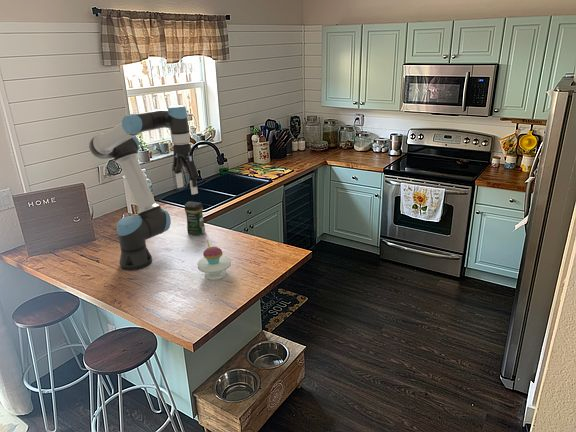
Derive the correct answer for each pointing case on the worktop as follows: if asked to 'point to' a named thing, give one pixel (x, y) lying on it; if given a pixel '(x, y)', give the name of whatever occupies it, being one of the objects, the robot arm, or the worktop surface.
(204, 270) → the cake stand
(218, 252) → the cupcake
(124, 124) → the robot arm
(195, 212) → the coffee jar
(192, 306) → the worktop surface
